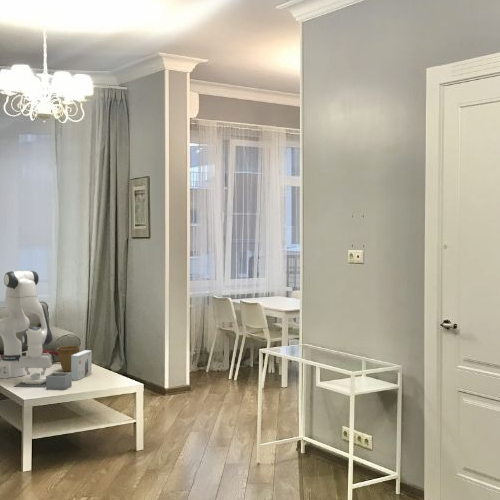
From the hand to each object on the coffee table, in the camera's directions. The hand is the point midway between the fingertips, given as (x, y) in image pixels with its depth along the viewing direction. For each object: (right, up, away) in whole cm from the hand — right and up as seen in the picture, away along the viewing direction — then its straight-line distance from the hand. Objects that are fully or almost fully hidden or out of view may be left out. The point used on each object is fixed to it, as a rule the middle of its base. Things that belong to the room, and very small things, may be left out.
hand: (35, 374), depth 440 cm
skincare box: (+24, -5, +20) cm, 32 cm away
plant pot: (+10, -5, +40) cm, 42 cm away
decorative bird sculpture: (-15, -4, +66) cm, 68 cm away
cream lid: (0, -5, 0) cm, 5 cm away
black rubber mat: (0, -6, 0) cm, 6 cm away
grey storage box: (+18, -6, -11) cm, 22 cm away
